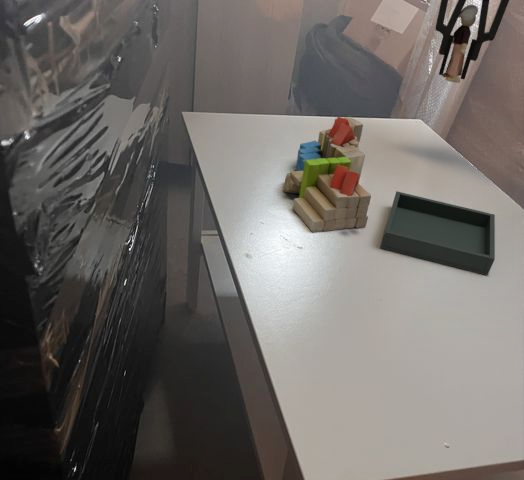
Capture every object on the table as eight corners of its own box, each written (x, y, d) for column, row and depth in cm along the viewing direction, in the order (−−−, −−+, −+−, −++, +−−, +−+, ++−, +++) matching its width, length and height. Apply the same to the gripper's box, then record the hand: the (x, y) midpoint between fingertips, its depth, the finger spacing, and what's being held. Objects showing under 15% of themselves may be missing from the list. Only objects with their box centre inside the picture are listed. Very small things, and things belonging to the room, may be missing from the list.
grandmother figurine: (467, 85, 112) (491, 10, 104) (450, 84, 111) (472, 9, 103) (450, 72, 118) (471, 0, 109) (433, 71, 117) (453, -1, 108)
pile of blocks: (285, 142, 123) (292, 88, 116) (353, 151, 124) (364, 97, 116) (281, 228, 97) (290, 165, 89) (367, 239, 97) (384, 177, 90)
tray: (488, 229, 104) (494, 214, 102) (487, 275, 93) (494, 259, 91) (392, 206, 107) (396, 191, 105) (379, 248, 96) (384, 231, 94)
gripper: (445, -77, 97) (407, 72, 113) (547, -61, 94) (494, 89, 110) (447, -80, 103) (411, 62, 118) (544, -66, 100) (494, 78, 115)
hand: (451, 74), depth 114 cm, fingers closed on grandmother figurine, 3 cm apart
